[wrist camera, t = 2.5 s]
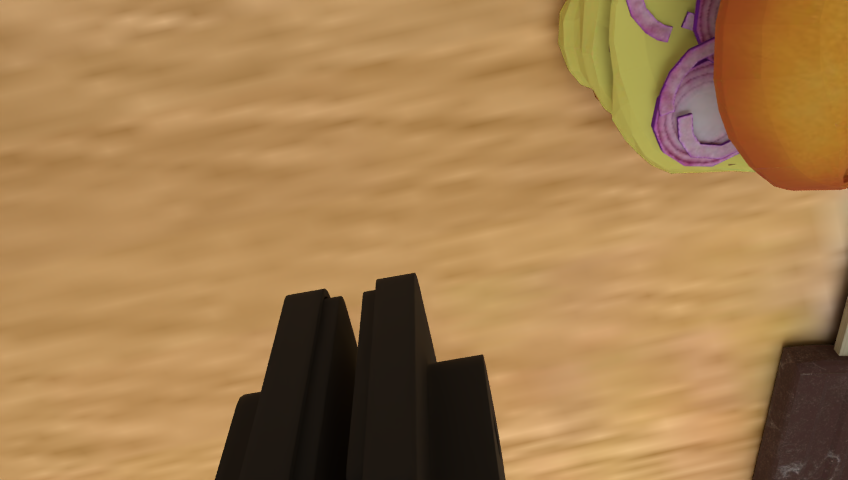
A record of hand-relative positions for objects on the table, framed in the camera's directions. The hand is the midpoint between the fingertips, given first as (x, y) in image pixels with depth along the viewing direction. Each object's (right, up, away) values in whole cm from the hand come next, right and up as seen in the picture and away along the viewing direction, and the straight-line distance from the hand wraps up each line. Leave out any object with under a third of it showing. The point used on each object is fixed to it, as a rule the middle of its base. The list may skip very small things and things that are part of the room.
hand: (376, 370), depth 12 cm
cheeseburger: (+10, +10, +14) cm, 21 cm away
